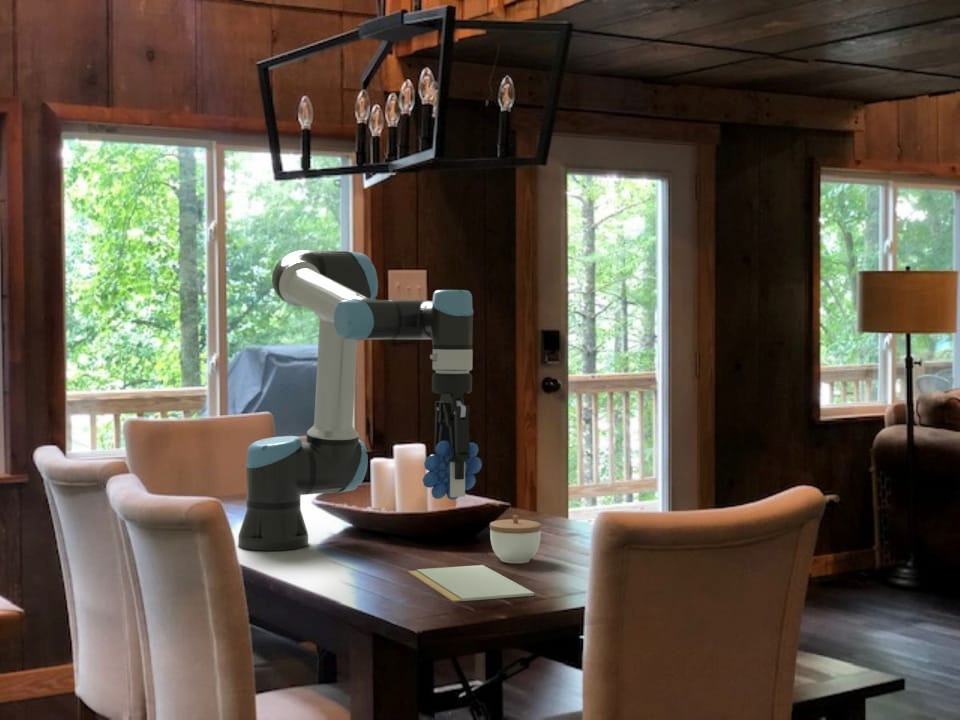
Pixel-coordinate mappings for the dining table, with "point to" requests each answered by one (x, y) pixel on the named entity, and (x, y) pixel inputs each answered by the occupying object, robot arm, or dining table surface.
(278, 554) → the dining table surface
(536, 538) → the lidded jar
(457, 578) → the mat
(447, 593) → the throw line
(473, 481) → the grapes
